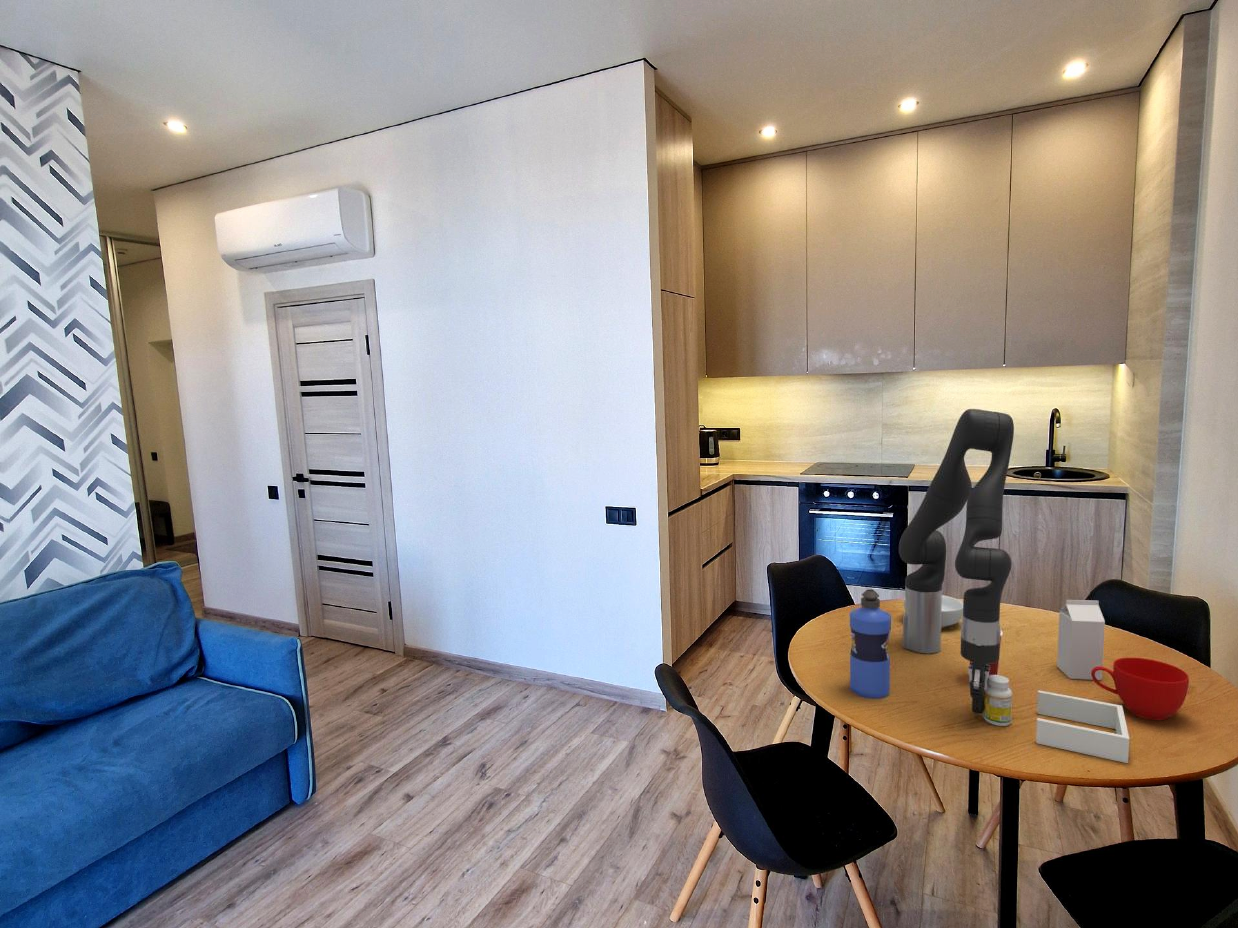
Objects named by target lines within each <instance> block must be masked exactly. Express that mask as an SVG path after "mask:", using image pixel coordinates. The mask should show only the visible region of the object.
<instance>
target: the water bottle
mask: <svg viewBox="0 0 1238 928" xmlns="http://www.w3.org/2000/svg"><path fill="white" fill-rule="evenodd" d="M861 596H862V597H861V598H860V605H861V606H860V607H857V608H856V609H855V608H854V609H852V610H851V611H850V612H849V628H850V634H851V648H850V653H849V689H850V692H852V693H853V694H855V695H856V696H859V697H862V698H865V699H874V700H875V699H883V698H887V697H888V696H890V692H891V691H890V690H891V688H890V687H891V685H890V684H891V681H890V680H891V678H890V677H891V657H890V656H891V655H890V649H889V642H890V634H891V630H892V615H891V613H888V612H887V611H885V610H883V609H881V608H880V606H881V603H880V602H881V600H880V598H879V597H880V595H879V593H878V592H877V591H875V589H870V588H869V589H866V590H865V591H863V593H861Z"/></svg>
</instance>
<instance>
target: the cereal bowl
mask: <svg viewBox="0 0 1238 928" xmlns="http://www.w3.org/2000/svg"><path fill="white" fill-rule="evenodd" d="M903 609H904V610H905V597H904V598H903ZM962 619H963V601H961V600H960V599H957V598H954V597H952V596H947V595H943V594H942V608H941V629H942V628H946V627H948V626H952V625H955V624H957V623H959V622H960V621H962Z"/></svg>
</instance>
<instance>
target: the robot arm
mask: <svg viewBox="0 0 1238 928" xmlns="http://www.w3.org/2000/svg"><path fill="white" fill-rule="evenodd" d="M1014 425H1015V424H1014V420H1013V417H1012V416H1011V415H1010V414H1007V413H1006V412H1005V413H1004V412H997V411H990V410H986V409H985V410H983V409H980V408H968V409H965V411H963V412H962V414H961V416H959V418H958V421H957V423H956V424H955V428H954V431H953V433H952V436H951V439H950V441H949V444H948V447H947V449H946V451H945V455H944V457H943V458H942V461H941V463H940V465H939V467H938V469H937V471H936V473H935V474H934V477H933V478H932V480H931V481H930V482H931V483H930V484H929V485H928V486H929V487H928V488H927V491H926V492H925V495H924V498H923V499H922V502H921V503H920V505H919V507H918V509H917V511H916V512H915V513H914V516H913V518H912V520H911V521H910V522H909V523H908V525H907V527H906V528H905V529H904V531H903V533H902V535H901V537H900V539H899V543H898V554H899V557H900V559H901V560H902V561H903V562H904V563H906V564H908V565H915V566H917V565H918V566H919V565H920V567H919V568H918V569H917V570H915V571H914V572H911V573H909V574H908V575H906V577H905V580H904V581H905V582H904V583H905V584H904V587H905V589H904V594H905V595H904V598H905V609H904V613H903V616H902V617H903V618H902V648H903V649H908V650H909V651H911V652H916V653H919V654H935V653H939V652H940V651H941V645H942V628H941V608H942V595H943V582H944V580H945V573H946V560H947V544H946V539H945V536H944V535H943V533H942V532H941V531H939V530H938V529H939V528H941V527H943V526H944V525H946V524H947V523H949V522H950V521H951V520H953V519H954V518H955V517H957V516H958V515H959V514H960V513H961V511H962V510H963V509H964V507H965V505H966V513H965V514H966V515H965V527H964V528H965V529H964V534H963V537H962V538H963V539H962V541H961V543H960V547H959V548H958V551H957V554H956V555H955V556H956V557H955V561H954V567H955V571H956V573H957V574H958V576H960V577H961V578H963V579H967V580H977V581H985V582H986V581H987V582H989V581H990V583H989V584H988V585H986V586H983V587H974V588H969V589H967V590H965V591H964V593H963V599H962V600H963V601H962V603H963V617H962V619H961V625H960V626H961V627H960V632H961V633H960V651H959V652H960V656H961V657H962V658H964V659H965V660H967V661H969V665H968V672H967V674H968V676H969V678H968V680H969V681H968V683H969V684H968V685H969V692H970V698H971V712H972V713H973V714H978V715H982V714H983V711H984V697H985V695H984V691H985V690H987V685H988V677H989V672H990V666H989V665H988V664H993V663H996V662H998V661H999V662H1000V652H1001V643H1000V629H1001V625H1000V624H1001V623H1000V615H1001V613H1000V612H1001V600H1002V595H1003V591H1004V588H1005V585H1006V582H1007V579H1008V578H1009V575H1010V573H1011V570H1012V563H1013V562H1012V559H1011V556H1010V554H1009V553H1008V552H1007V551H1006V550H1004V549H1003V548H995V547H991V548H990V547H981V546H980V547H979V546H976V545H977V544H978V543H979V542H982V541H987V540H989V541H990V540H994V539H997V538H1000V537H1001V535H1002V533H1003V507H1004V504H1003V503H1004V494H1005V493H1004V491H1005V485H1006V480H1007V475H1008V471H1009V465H1010V461H1011V456H1012V455H1011V454H1012V450H1013V449H1012V448H1013V443H1014V437H1015V436H1014V435H1015V434H1014V433H1015V426H1014ZM969 450H977V451H984V452H990V453H991V460H990V464H989V466H988V468H987V470H986V471H985V473H984V474H983V475H982V476H981V478H980V479H979V481H977V483H976V484H975V485H974V487H973V485H972V480H971V477H970V474H969V472H968V470H967V467H966V466H967V465H966V462H965V456H966V453H967V452H968V451H969ZM970 661H971V662H970Z"/></svg>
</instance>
